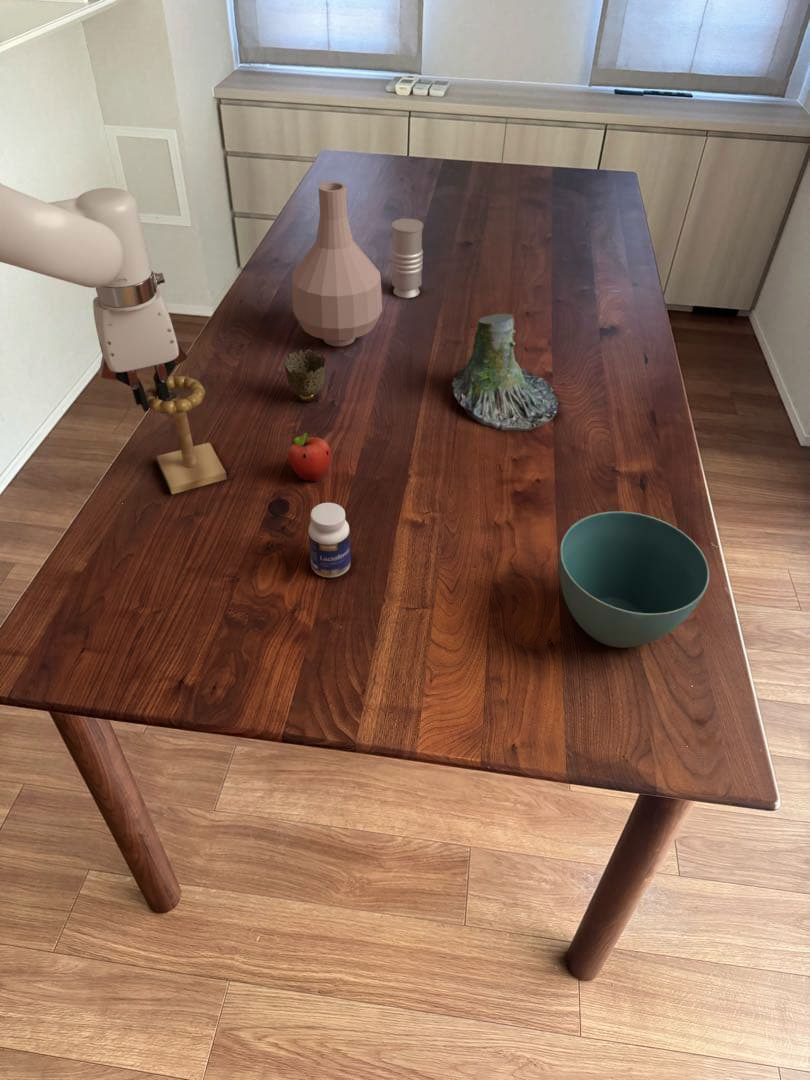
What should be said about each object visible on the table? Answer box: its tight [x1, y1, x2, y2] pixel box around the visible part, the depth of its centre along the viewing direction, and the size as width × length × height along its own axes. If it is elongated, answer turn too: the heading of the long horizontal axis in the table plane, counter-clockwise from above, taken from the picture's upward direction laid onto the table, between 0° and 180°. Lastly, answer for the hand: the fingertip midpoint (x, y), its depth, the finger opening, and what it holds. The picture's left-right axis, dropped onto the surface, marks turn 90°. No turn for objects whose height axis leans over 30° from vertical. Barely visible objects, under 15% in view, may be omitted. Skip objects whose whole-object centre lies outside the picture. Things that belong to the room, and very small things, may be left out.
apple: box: [287, 432, 332, 482], centre depth 125 cm, size 8×7×10 cm
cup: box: [282, 349, 327, 403], centre depth 143 cm, size 8×7×8 cm
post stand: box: [155, 397, 228, 495], centre depth 125 cm, size 9×9×14 cm
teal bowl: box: [558, 510, 710, 649], centre depth 103 cm, size 18×18×12 cm
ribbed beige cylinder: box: [390, 218, 424, 299], centre depth 173 cm, size 7×7×15 cm
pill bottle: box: [307, 502, 352, 579], centre depth 111 cm, size 6×6×10 cm
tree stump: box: [451, 313, 559, 431], centre depth 142 cm, size 18×20×18 cm
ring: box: [144, 375, 206, 415], centre depth 119 cm, size 9×9×2 cm
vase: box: [291, 181, 383, 347], centre depth 152 cm, size 18×18×30 cm
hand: (153, 403), depth 119 cm, fingers closed on ring, 2 cm apart
